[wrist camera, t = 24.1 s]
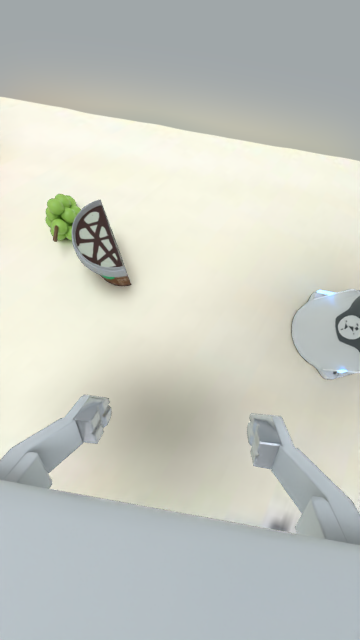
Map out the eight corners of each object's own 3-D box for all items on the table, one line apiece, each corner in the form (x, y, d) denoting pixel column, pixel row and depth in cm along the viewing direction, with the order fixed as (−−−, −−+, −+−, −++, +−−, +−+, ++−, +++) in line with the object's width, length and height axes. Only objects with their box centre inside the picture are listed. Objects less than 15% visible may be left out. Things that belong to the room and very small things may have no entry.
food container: (83, 244, 37) (56, 205, 27) (114, 236, 38) (99, 196, 28) (102, 301, 35) (81, 282, 25) (133, 291, 36) (125, 269, 26)
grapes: (90, 204, 38) (77, 175, 32) (86, 255, 36) (71, 235, 30) (53, 201, 37) (32, 170, 31) (47, 253, 35) (23, 232, 29)
